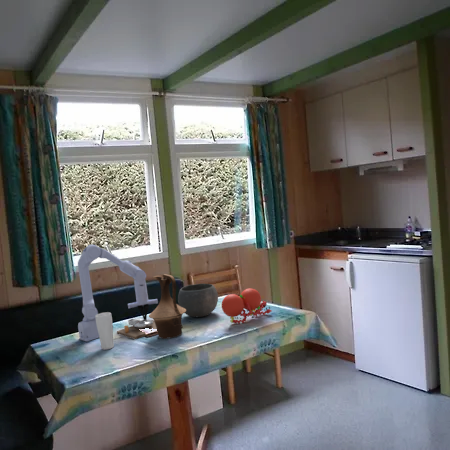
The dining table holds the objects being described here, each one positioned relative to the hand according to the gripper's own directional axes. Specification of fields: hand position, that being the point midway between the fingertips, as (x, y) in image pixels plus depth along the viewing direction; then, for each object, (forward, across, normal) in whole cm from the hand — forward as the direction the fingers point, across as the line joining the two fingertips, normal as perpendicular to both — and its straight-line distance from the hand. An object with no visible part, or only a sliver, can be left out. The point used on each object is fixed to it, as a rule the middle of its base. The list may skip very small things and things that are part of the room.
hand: (145, 319), depth 229 cm
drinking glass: (+3, +18, +25) cm, 31 cm away
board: (+3, +1, +8) cm, 9 cm away
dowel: (+2, +10, +11) cm, 14 cm away
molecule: (+3, -46, +24) cm, 52 cm away
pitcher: (+3, -9, +24) cm, 26 cm away
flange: (+1, +3, +6) cm, 6 cm away
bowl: (+3, -28, +1) cm, 28 cm away
